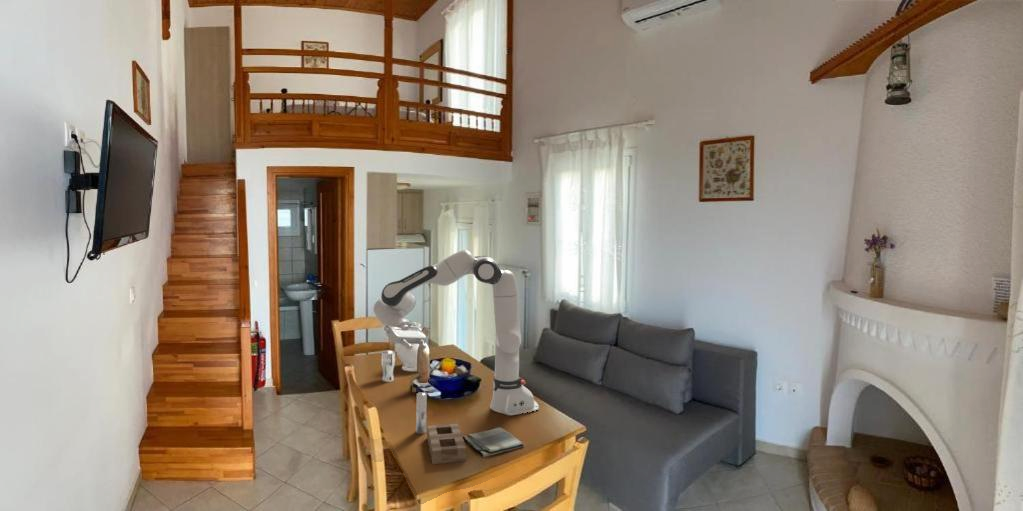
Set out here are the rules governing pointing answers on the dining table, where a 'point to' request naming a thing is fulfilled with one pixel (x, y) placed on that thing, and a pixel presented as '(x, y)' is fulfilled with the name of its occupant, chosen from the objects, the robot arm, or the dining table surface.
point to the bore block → (446, 443)
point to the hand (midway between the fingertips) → (417, 348)
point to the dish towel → (493, 441)
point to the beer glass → (388, 365)
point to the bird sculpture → (423, 363)
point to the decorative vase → (410, 355)
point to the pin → (421, 412)
